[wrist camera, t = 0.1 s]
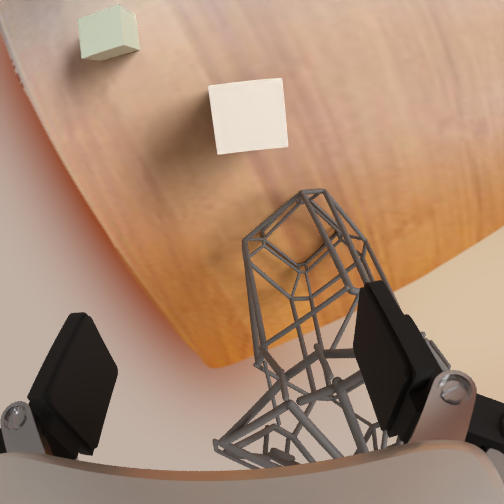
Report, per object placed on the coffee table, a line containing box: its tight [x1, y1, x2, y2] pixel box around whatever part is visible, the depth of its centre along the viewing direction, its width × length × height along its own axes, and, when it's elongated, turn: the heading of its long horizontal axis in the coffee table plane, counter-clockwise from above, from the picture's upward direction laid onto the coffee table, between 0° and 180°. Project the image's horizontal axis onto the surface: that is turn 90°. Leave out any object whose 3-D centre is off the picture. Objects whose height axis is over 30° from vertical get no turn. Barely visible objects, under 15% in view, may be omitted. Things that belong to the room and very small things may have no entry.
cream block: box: [208, 78, 288, 155], centre depth 27 cm, size 6×6×6 cm
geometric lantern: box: [213, 189, 451, 469], centre depth 29 cm, size 16×16×35 cm
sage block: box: [78, 4, 140, 61], centre depth 27 cm, size 5×5×6 cm
